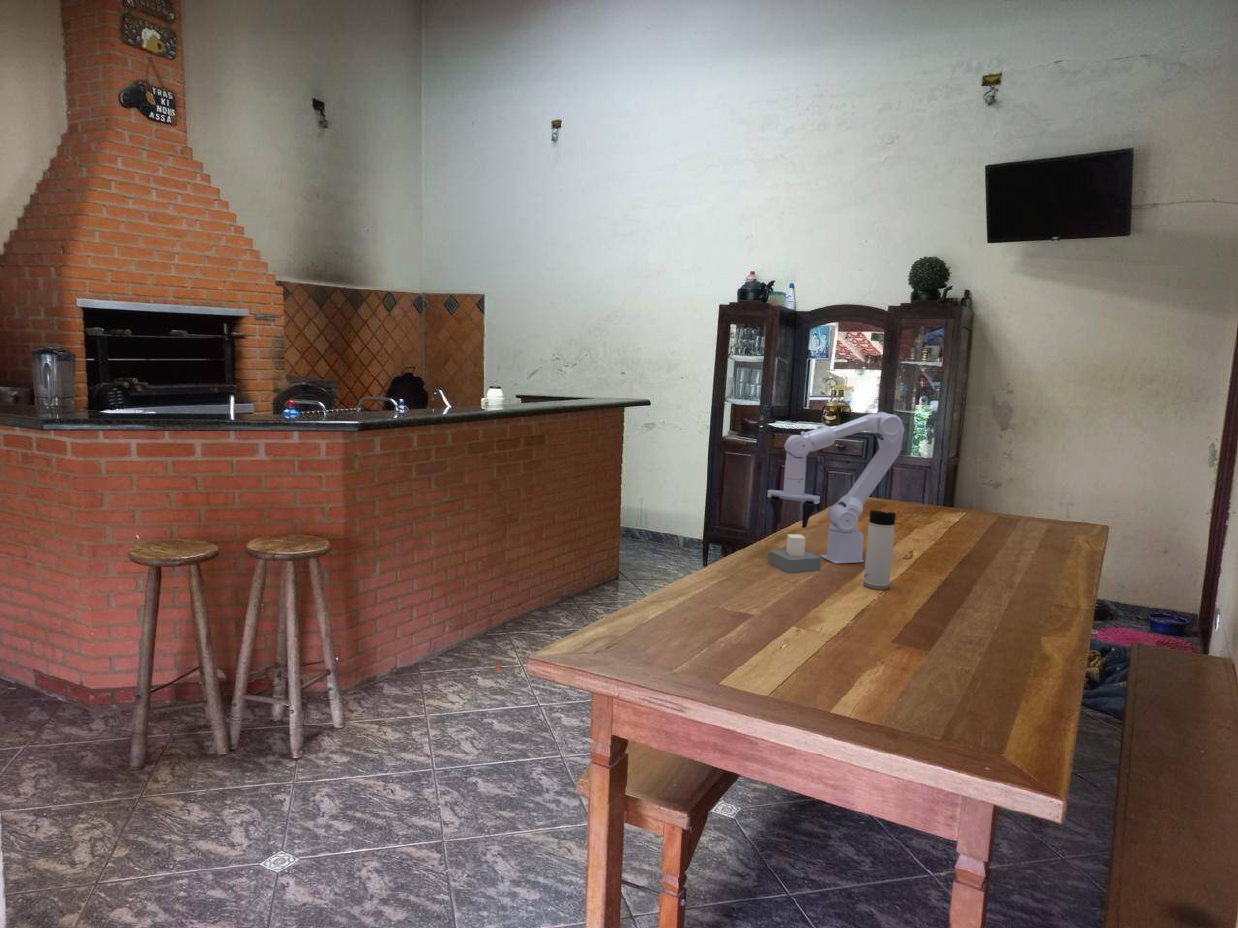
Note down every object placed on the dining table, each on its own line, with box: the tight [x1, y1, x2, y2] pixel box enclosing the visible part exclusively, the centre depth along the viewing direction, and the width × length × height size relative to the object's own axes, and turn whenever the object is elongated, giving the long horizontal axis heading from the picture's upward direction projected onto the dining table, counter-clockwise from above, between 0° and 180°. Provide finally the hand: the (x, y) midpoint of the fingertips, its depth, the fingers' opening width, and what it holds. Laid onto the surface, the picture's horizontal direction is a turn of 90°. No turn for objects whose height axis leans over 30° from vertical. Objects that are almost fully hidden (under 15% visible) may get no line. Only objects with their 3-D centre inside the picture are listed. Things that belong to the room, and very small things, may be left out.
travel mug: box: [863, 509, 897, 591], centre depth 196 cm, size 6×7×20 cm
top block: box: [785, 533, 806, 556], centre depth 212 cm, size 4×4×5 cm
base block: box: [768, 549, 822, 574], centre depth 212 cm, size 10×10×4 cm
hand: (791, 525), depth 220 cm, fingers open, 7 cm apart
